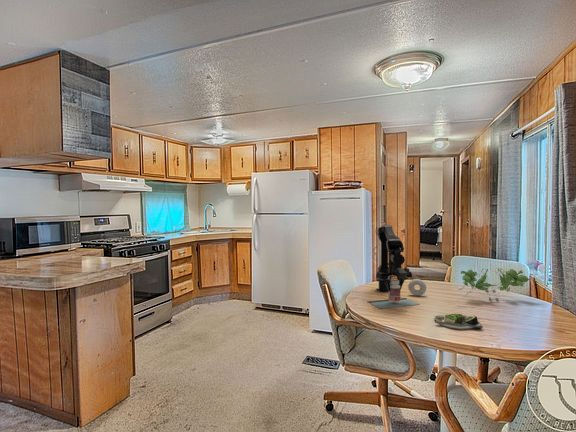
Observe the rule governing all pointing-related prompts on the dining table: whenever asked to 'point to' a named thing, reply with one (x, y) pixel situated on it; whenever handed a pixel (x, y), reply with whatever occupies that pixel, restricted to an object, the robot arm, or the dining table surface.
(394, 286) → the pill bottle
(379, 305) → the mat
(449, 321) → the salad plate
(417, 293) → the donut
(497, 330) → the dining table surface
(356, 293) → the dining table surface
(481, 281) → the plant cuttings
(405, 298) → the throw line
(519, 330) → the dining table surface
